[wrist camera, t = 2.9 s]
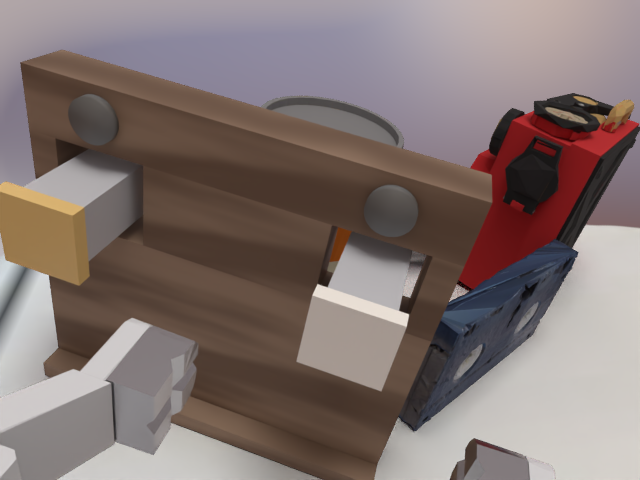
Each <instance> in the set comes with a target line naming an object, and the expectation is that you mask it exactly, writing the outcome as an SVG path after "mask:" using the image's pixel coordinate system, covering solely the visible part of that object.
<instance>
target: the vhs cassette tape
mask: <svg viewBox="0 0 640 480" xmlns="http://www.w3.org/2000/svg"><path fill="white" fill-rule="evenodd" d="M577 255H578V252H577V251H575V250H573V249H572V248H570V247H569V246H567V245H565V244H564V243H562V242H560V241H558V240H556V239H554V240H552V241H551V242H550V243H549V244H547V245H545V246H543V247H541V248H538V249H536V250H535V251H534V252H533V253H531V254H529V255H527V256H526V257H524V258H523V259H521V260H520V261H517V262H515V263H513V264H511V265H509V266H508V267H506V268H504V269H502V270H500V271H498V272H497V273H496V274H495V275H494V276H492V277H491V278H490V279H487V280H485V281H483V282H482V283H480V284H479V285H478V286H477V287H476V288H474V289H473V290H471V291H470V292H468V293H466V294H465V295H463V296H460V297H458V298H456V299H454V300H452V301H450V302H448V305H447V307H446V309H445V311H444V314H443V316H442V318H441V321H440V323H439V325H438V327H437V330H436V332H435V334H434V336H433V339H432V341H431V343H430V346H429V348H428V350H427V352H426V355H425V357H424V359H423V361H422V364H421V366H420V368H419V371H418V373H417V375H416V377H415V380H414V382H413V384H412V386H411V389H410V391H409V393H408V395H407V398H406V400H405V402H404V405H403V407H402V409H401V411H400V414H399V417H400V418H401V419H402V420H403V421H404V422H407V423H409V425H410V426H412V428H413V430H414V431H417V430H418V429H419V428H420V427H421V426H422V425H423V424H424V423H425V422H427V421H429V420H430V419H431V417H433V416H434V415H436V414H437V413H438V412H439V411H441V410H442V409H443V408H444V407H445V406H447V405H448V404H449V403H450V402H452V401H453V400H454V399H455V398H457V397H458V396H459V395H460V394H461V393H463V392H464V391H465V390H466V389H467V388H469V387H470V386H471V385H472V384H474V383H475V382H476V381H477V380H478V379H480V378H481V377H482V376H483V375H484V374H486V373H487V372H488V371H489V370H491V369H492V368H493V367H494V366H495V365H497V364H498V363H499V362H500V361H502V360H503V359H504V358H505V357H507V356H508V355H509V354H510V353H511V352H513V351H514V350H515V349H516V348H517V347H519V346H520V345H521V344H522V343H523V342H524V341H526V340H527V339H528V338H529V337H531V336H532V335H533V334H534V331H535V329H536V327H537V325H538V324H539V322H540V319H541V318H542V317H543V316H544V314H545V312H546V310H547V309H548V307H549V305H550V303H551V302H552V300H553V298H554V296H555V295H556V293H557V291H558V290H559V288H560V286H561V284H562V281H564V279H565V277H566V276H567V274H568V272H569V271H570V270H571V269H572V266H573V264H574V261H575V258H576V257H577Z"/></svg>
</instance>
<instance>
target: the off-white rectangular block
mask: <svg viewBox="0 0 640 480" xmlns="http://www.w3.org/2000/svg"><path fill="white" fill-rule="evenodd" d="M411 255H412V250H410V249H407V248H403V247H400V246H397V245H394V244H391V243H387V242H384V241H381V240H378V239H375V238H372V237H368V236H365V235H362V234H359V233H356V232H351V234H350V237H349V239H348V241H347V244H346V246H345V248H344V251H343V253H342V255H341V258H340V260H339V262H338V264H337V267H336V269H335V271H334V274H333V276H332V278H331V281H330V283H329V285H328V287H325V286H322V285H319V284H317V286H316V288H315V291H314V293H313V295H312V299H311V303H310V307H309V311H308V315H307V319H306V324H305V328H304V332H303V336H302V340H301V344H300V348H299V353H298V357H297V361H296V362H299V363H301V364H304V365H307V366H310V367H313V368H316V369H319V370H321V371H324V372H327V373H330V374H333V375H336V376H339V377H341V378H344V379H347V380H350V381H353V382H356V383H359V384H362V385H364V386H367V387H370V388H373V389H376V390H379V391H382V388H383V386H384V383H385V381H386V378H387V376H388V373H389V371H390V368H391V366H392V363H393V361H394V358H395V356H396V353H397V350H398V348H399V345H400V343H401V340H402V338H403V335H404V333H405V330H406V328H407V323H408V318H409V314H407V313H404V312H401V311H399V308H400V304H401V299H402V295H403V290H404V286H405V281H406V277H407V272H408V268H409V264H410V259H411Z"/></svg>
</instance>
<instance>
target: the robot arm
mask: <svg viewBox="0 0 640 480" xmlns="http://www.w3.org/2000/svg"><path fill="white" fill-rule="evenodd" d="M197 355H198V343H197V342H196V341H193V340H190V339H188V338H185V337H183V336H180V335H177V334H175V333H172V332H169V331H167V330H164V329H162V328H159V327H156V326H154V325H151V324H148V323H145V322H142V321H140V320H137V319H134V318H131V319H129V320H127V321H125V322H124V323H123V324H122V325H121V326H120V327H119V329H118V330H117V331H116V332H115V333H114V334H113V335H112V336H111V337H110V338H109V340H108V341H107V342H106V343H105V344H104V345H103V346H102V347H101V348H100V349H99V351H98V352H97V353H96V354H95V355H94V356H93V357H92V358H91V359H90V361H89V362H88V363H87V364H86V365H85V366H84V367H83V368H82V369H81V370H80V371H78V370H75V369H72V370H70V371H67V372H64V373H62V374H59V375H57V376H54V377H52V378H49V379H47V380H44V381H41V382H39V383H36V384H34V385H31V386H29V387H26V388H24V389H21V390H19V391H16V392H13V393H11V394H8V395H6V396H3V397H1V398H0V480H57V479H59V478H60V477H62V476H63V475H65V474H67V473H68V472H70V471H72V470H73V469H75V468H76V467H78V466H80V465H81V464H83V463H85V462H86V461H88V460H90V459H91V458H93V457H94V456H96V455H98V454H99V453H101V452H103V451H104V450H106V449H107V448H109V447H111V446H112V445H114V443H115V442H117V443H120V444H123V445H126V446H129V447H132V448H135V449H137V450H140V451H143V452H146V453H149V454H152V455H154V454H155V452H156V450H157V449H158V447H159V446H160V444H161V442H162V441H163V439H164V438H165V436H166V434H167V433H168V431H169V430H170V426H171V416H172V415H174V414H176V413H178V412H180V411H181V410H182V409H183V407H184V405H185V404H186V402H187V400H188V398H189V396H190V394H191V391H192V389H193V387H194V383H195V379H196V372H197V368H196V367H195V365H194V363H193V361H194V359H195V358H196V356H197ZM114 441H115V442H114ZM450 480H556V476H555V471H554V469H553V467H552V465H549V464H547V463H544V462H541V461H538V460H535V459H532V458H529V457H527V456H523V455H522V454H519V453H516V452H513V451H510V450H507V449H504V448H501V447H498V446H495V445H492V444H489V443H486V442H483V441H480V440H478V439H475V438H474V439H472V440H471V441H470V442H469V444H468V445H467V447H466V449H465V460H462V461H459V462H457V464H456V466H455V468H454V470H453V472H452V475H451V478H450Z"/></svg>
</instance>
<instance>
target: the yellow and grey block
mask: <svg viewBox="0 0 640 480" xmlns="http://www.w3.org/2000/svg"><path fill="white" fill-rule="evenodd" d="M142 215H143V166H142V165H139V164H136V163H133V162H130V161H126V160H123V159H120V158H117V157H114V156H111V155H107V154H104V153H101V152H98V151H95V150H91V149H88V150H86V151H85V152H83V153H81V154H79V155H78V156H76V157H74V158H72V159H71V160H69V161H67V162H65V163H64V164H62V165H60V166H58V167H57V168H55V169H53V170H52V171H50V172H48V173H46V174H45V175H43V176H41V177H39V178H38V179H36V180H34V181H33V182H31V183H29V184H27V185H25V186H24V187H21V186H18V185H15V184H12V183H9V182H4V183H2V184H0V233H1V238H2V243H3V248H4V254H5V259H6V260H7V261H10V262H13V263H16V264H18V265H21V266H24V267H27V268H30V269H33V270H36V271H38V272H41V273H44V274H47V275H50V276H53V277H56V278H58V279H61V280H64V281H67V282H70V283H73V284H76V285H78V286H79V285H81V284H82V283H83V282H84V281H85V280H86V279H87V278H88V277H89V276H90V274H89V261H90V260H91V259H92V258H93V257H95V256H96V255H97V254H98V253H99V252H100V251H102V250H103V249H104V248H105V247H106V246H107V245H109V244H110V243H111V242H112V241H113V240H114V239H116V238H117V237H118V236H119V235H120V234H121V233H122V232H124V231H125V230H126V229H127V228H128V227H129V226H131V225H132V224H133V223H134V222H135V221H136V220H138V219H139V218H140V217H141V216H142Z"/></svg>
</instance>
